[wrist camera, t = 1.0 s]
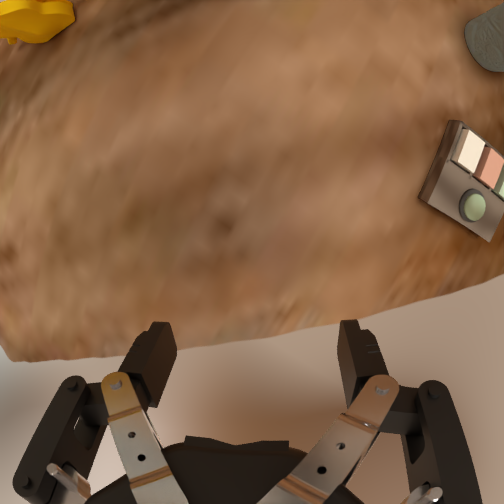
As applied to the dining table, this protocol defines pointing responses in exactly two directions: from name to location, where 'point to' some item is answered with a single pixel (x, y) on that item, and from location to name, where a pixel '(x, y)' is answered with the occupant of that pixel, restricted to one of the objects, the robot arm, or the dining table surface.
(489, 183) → the terracotta key
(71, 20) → the figure statuette
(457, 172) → the key console
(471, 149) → the cream key
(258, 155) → the dining table surface
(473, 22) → the grey-green tumbler
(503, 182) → the sage key
